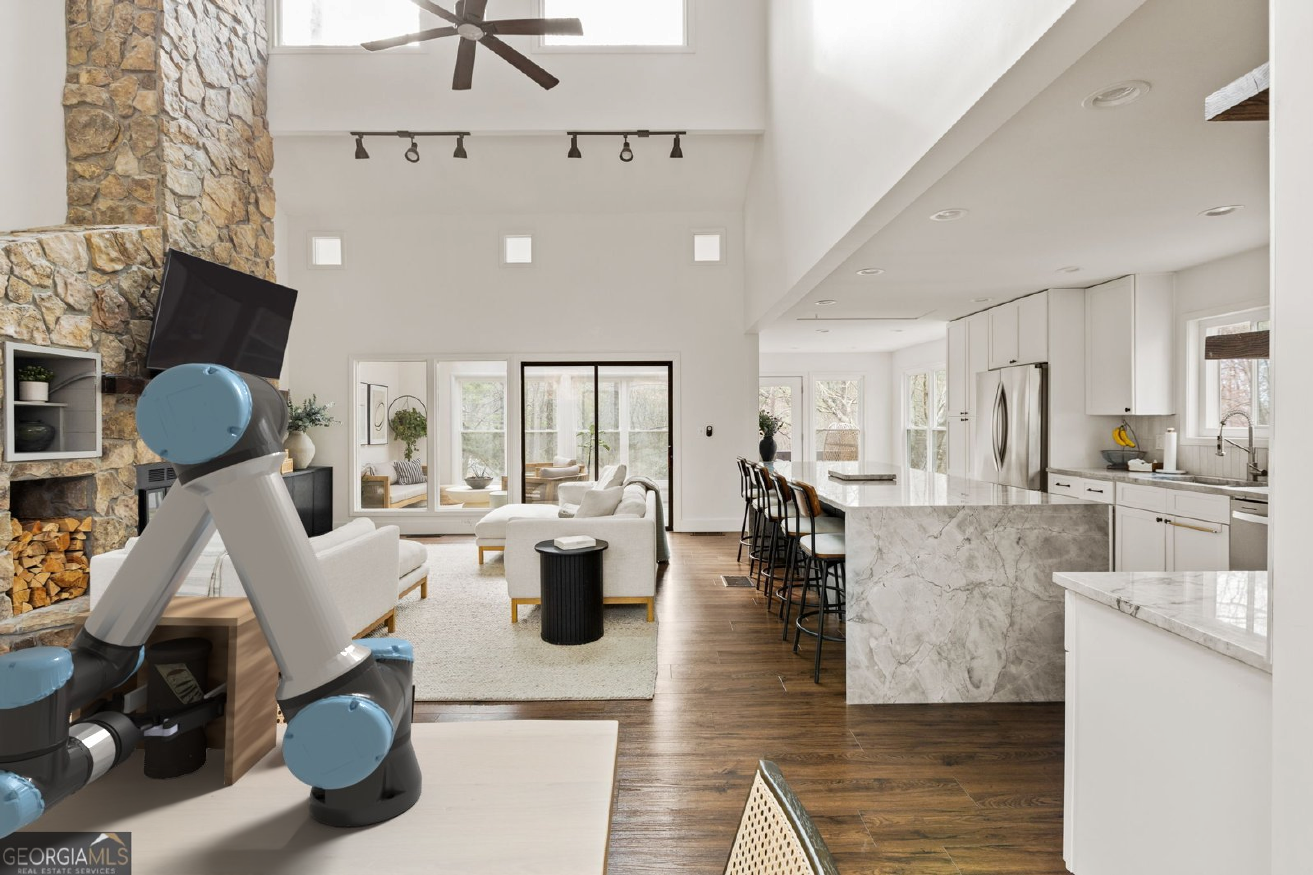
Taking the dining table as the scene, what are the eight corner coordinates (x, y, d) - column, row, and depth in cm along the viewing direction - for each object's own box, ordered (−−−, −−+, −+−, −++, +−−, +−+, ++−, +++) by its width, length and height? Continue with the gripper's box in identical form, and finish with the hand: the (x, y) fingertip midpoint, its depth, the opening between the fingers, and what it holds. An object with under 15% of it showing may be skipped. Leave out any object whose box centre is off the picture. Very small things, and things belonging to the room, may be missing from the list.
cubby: (276, 745, 115) (280, 597, 115) (232, 785, 102) (237, 618, 102) (132, 745, 113) (137, 595, 114) (69, 785, 100) (75, 616, 100)
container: (174, 785, 101) (178, 651, 102) (125, 777, 103) (129, 646, 103) (222, 758, 110) (226, 635, 110) (176, 752, 112) (180, 631, 112)
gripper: (-7, 779, 88) (117, 711, 110) (181, 778, 89) (266, 712, 111) (-5, 721, 88) (118, 665, 110) (183, 721, 89) (267, 666, 111)
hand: (193, 688), depth 111 cm, fingers open, 11 cm apart
